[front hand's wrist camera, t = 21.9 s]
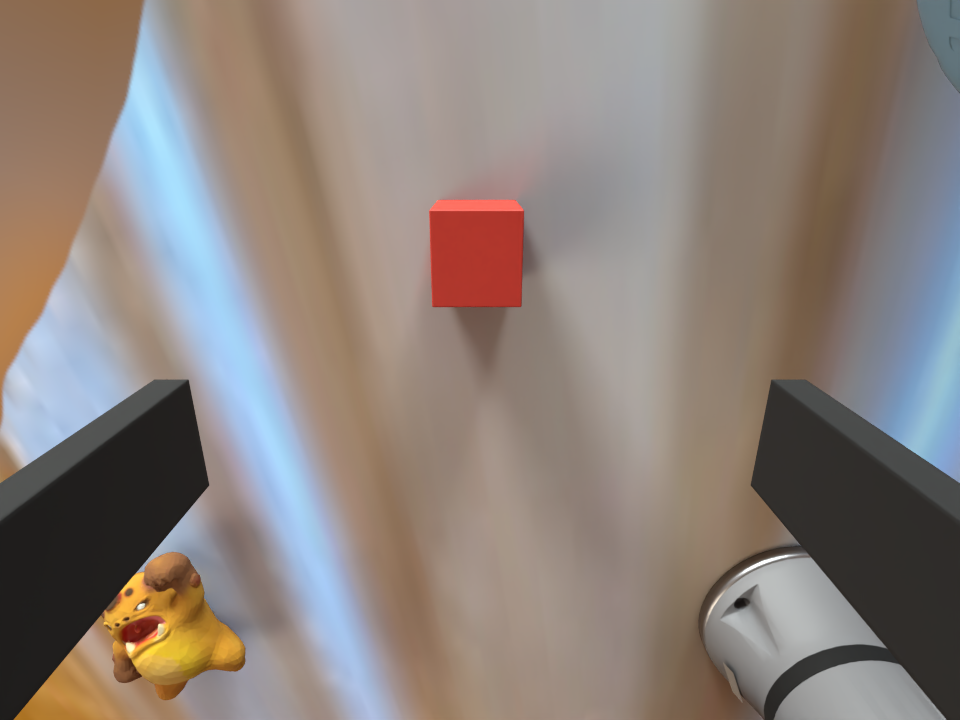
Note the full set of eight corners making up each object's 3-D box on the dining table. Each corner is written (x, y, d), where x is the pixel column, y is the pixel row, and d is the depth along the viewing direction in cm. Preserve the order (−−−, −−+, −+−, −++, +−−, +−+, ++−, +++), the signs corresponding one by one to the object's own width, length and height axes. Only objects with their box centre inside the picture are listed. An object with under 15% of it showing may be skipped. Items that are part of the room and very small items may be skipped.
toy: (118, 705, 49) (47, 576, 43) (177, 645, 54) (120, 523, 49) (213, 739, 45) (147, 602, 39) (266, 670, 50) (215, 540, 45)
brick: (437, 200, 37) (429, 209, 30) (515, 199, 37) (524, 209, 31) (439, 281, 39) (432, 307, 32) (513, 281, 39) (521, 307, 32)
